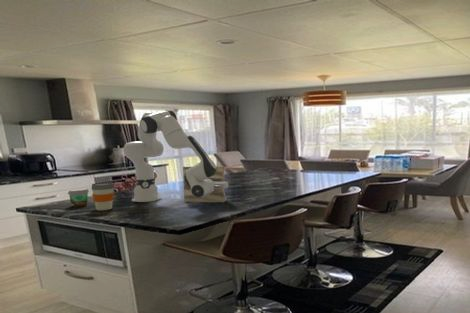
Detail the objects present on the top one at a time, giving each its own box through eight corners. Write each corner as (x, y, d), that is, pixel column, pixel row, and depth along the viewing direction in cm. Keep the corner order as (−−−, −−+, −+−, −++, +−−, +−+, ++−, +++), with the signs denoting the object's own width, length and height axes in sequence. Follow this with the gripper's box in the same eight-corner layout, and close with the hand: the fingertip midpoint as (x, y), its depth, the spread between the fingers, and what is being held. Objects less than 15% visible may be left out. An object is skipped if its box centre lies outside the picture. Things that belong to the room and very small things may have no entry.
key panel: (188, 199, 233) (186, 166, 232) (226, 200, 227) (225, 165, 225) (183, 201, 227) (182, 167, 225) (223, 202, 220) (222, 166, 219)
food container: (71, 208, 219) (70, 191, 218) (68, 206, 224) (67, 190, 223) (92, 205, 227) (91, 189, 226) (89, 203, 232) (88, 188, 231)
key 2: (212, 185, 226) (212, 178, 226) (221, 186, 224) (221, 178, 224) (210, 187, 221) (209, 179, 221) (219, 187, 220) (219, 179, 219)
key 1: (188, 186, 229) (187, 178, 229) (197, 186, 227) (196, 178, 227) (185, 187, 224) (184, 179, 224) (194, 187, 223) (193, 179, 222)
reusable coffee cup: (114, 209, 210) (113, 184, 209) (91, 211, 206) (90, 185, 205) (115, 205, 222) (114, 181, 221) (94, 207, 219) (92, 183, 218)
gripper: (224, 181, 204) (230, 178, 217) (190, 181, 209) (198, 178, 223) (224, 192, 204) (231, 188, 218) (191, 192, 210) (199, 188, 223)
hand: (214, 183), depth 220 cm, fingers closed, pressing on key 2
